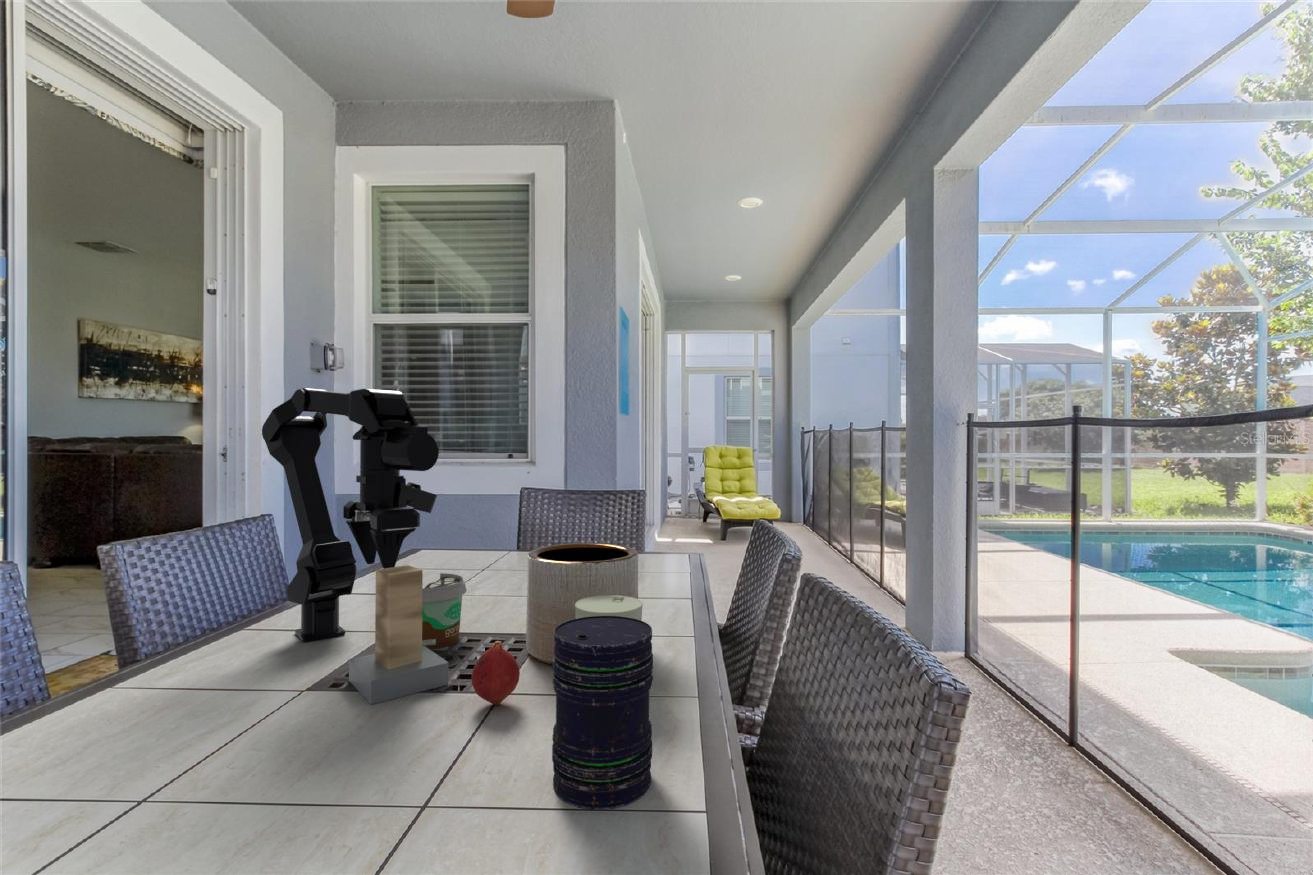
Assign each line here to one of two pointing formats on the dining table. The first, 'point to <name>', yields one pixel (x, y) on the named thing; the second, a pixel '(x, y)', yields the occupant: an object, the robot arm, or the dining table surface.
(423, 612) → the food container
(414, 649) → the oak block
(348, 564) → the robot arm
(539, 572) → the planter
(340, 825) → the dining table surface
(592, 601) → the can
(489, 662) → the onion
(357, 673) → the plate
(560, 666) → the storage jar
